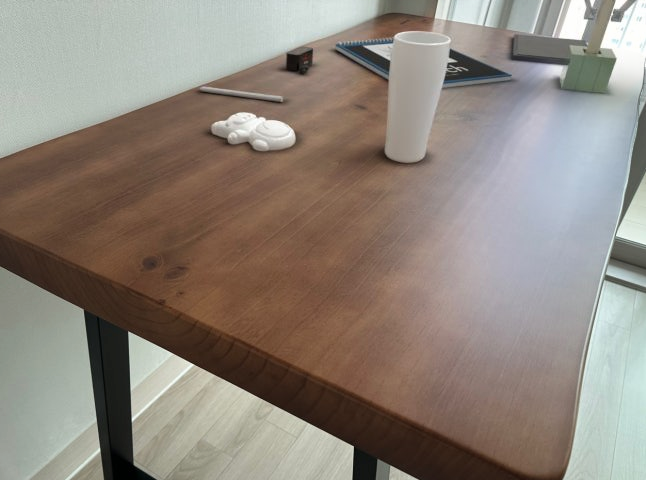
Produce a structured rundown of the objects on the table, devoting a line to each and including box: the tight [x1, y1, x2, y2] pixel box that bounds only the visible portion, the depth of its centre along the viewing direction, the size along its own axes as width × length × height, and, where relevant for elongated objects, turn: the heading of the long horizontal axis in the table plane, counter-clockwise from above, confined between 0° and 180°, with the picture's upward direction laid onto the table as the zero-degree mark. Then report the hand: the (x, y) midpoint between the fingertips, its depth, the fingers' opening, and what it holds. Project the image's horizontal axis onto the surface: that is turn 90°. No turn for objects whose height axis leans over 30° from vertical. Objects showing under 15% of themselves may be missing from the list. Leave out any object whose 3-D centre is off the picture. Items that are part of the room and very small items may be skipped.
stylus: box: [586, 0, 617, 54], centre depth 99 cm, size 2×2×14 cm
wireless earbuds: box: [285, 45, 314, 74], centre depth 108 cm, size 5×7×3 cm, turn 149°
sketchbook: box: [334, 36, 513, 89], centre depth 113 cm, size 22×30×2 cm
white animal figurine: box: [210, 111, 296, 152], centre depth 80 cm, size 9×12×3 cm
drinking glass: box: [384, 30, 452, 164], centre depth 72 cm, size 7×7×15 cm
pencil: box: [198, 86, 284, 103], centre depth 95 cm, size 1×1×15 cm
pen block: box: [559, 45, 618, 94], centre depth 102 cm, size 7×7×6 cm
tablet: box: [511, 33, 588, 66], centre depth 122 cm, size 15×20×1 cm
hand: (601, 20), depth 97 cm, fingers open, 3 cm apart
